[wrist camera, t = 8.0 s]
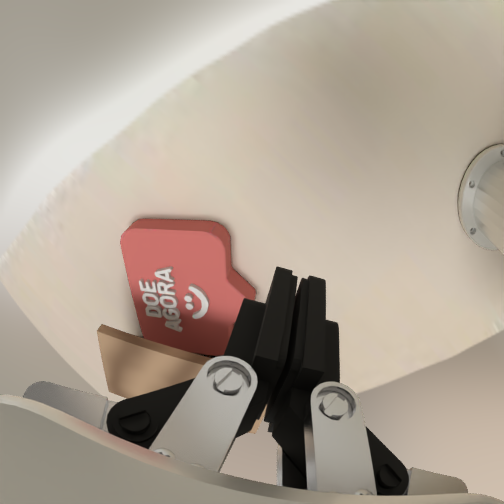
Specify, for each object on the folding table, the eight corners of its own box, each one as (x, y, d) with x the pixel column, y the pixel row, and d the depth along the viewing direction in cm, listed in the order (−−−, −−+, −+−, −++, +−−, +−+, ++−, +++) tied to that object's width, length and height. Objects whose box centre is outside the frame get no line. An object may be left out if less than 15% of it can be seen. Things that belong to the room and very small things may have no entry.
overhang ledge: (285, 319, 40) (280, 383, 31) (263, 376, 45) (255, 433, 37) (133, 279, 40) (96, 331, 31) (135, 341, 46) (108, 391, 37)
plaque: (252, 363, 40) (144, 348, 41) (255, 343, 43) (153, 330, 45) (252, 237, 31) (114, 230, 33) (256, 221, 34) (129, 216, 36)
